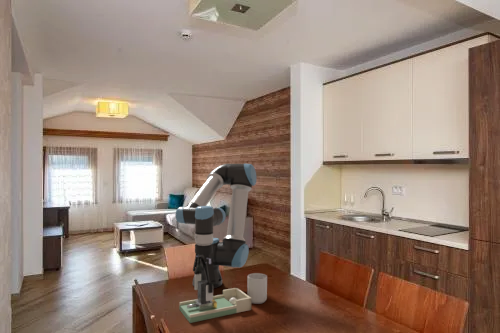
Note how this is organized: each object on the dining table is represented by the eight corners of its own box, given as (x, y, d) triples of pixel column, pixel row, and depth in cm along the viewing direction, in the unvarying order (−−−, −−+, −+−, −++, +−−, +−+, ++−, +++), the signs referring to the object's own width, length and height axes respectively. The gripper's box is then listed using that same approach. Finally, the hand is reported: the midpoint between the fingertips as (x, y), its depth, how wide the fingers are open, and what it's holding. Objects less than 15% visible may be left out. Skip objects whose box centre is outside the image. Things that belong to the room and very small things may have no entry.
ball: (234, 295, 148) (235, 303, 149) (227, 297, 147) (228, 305, 147) (238, 298, 145) (239, 306, 145) (230, 300, 144) (231, 308, 144)
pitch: (179, 309, 142) (179, 297, 142) (236, 298, 155) (236, 287, 155) (189, 323, 129) (190, 310, 130) (251, 309, 142) (251, 297, 142)
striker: (184, 306, 140) (184, 281, 140) (209, 301, 145) (209, 277, 145) (190, 313, 133) (190, 287, 133) (216, 308, 138) (217, 283, 138)
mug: (261, 306, 146) (262, 280, 147) (243, 302, 150) (244, 277, 151) (272, 296, 157) (272, 273, 157) (255, 293, 161) (255, 270, 161)
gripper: (186, 238, 149) (185, 286, 149) (206, 251, 127) (205, 307, 127) (202, 237, 152) (201, 284, 152) (224, 249, 131) (223, 303, 130)
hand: (203, 294), depth 140 cm, fingers open, 13 cm apart
